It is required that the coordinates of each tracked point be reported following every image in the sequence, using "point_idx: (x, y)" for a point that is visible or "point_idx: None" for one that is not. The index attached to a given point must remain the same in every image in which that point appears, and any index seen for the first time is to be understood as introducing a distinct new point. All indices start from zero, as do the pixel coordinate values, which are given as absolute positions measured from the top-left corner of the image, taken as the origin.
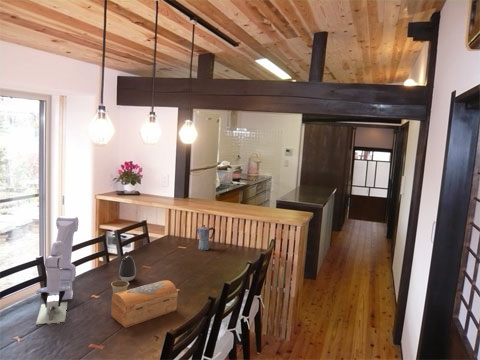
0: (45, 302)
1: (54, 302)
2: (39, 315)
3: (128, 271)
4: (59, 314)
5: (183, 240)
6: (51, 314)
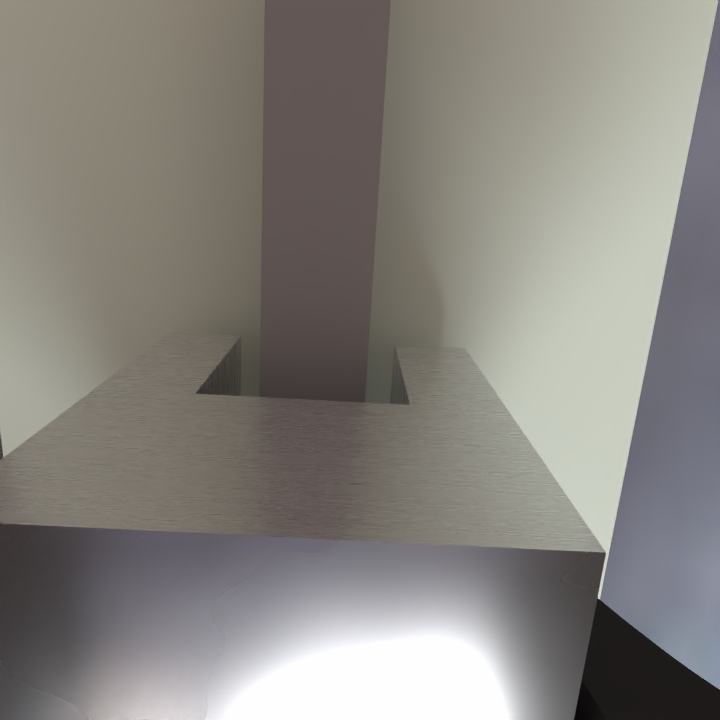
0: (598, 629)
1: (181, 475)
2: (622, 341)
3: None
4: (139, 263)
5: None
6: (324, 47)
